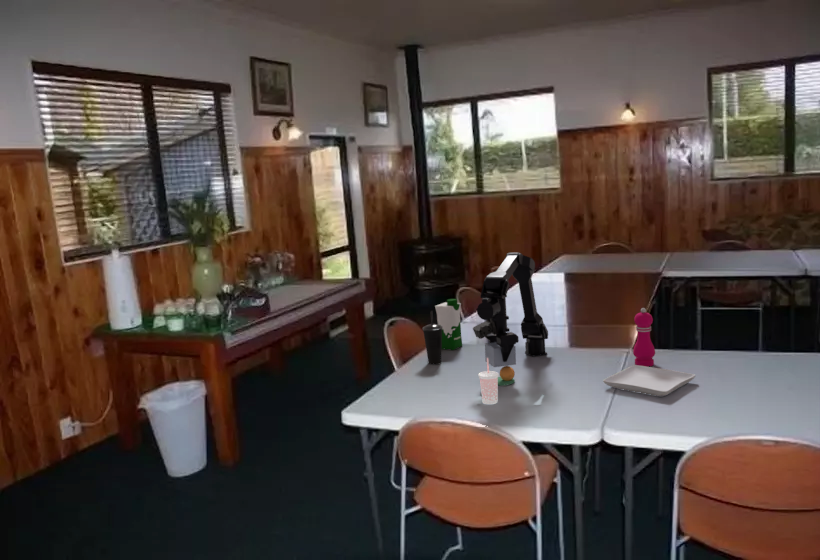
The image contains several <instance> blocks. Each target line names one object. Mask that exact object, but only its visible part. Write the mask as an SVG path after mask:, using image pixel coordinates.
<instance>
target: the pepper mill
mask: <svg viewBox="0 0 820 560" xmlns="http://www.w3.org/2000/svg"><path fill="white" fill-rule="evenodd" d="M633 319H634V321H633V322H634V324H635V325H636V326H635V331H636V333H637V339H636V342H635V344H634V346H633V348H632V349H633V350H632V354H633V355H634V357H635V359H634V365H639V366H646V367H649V366H650V367H652V366H654V364H655V359H654V357H655V355H656V349H655V346H654V344H653V342H652V339H651V331H652V326H651V325H652V324H653V321H654V318H653V316H652V314H650V313H649V312H647V309H646V308H645V307H641V309H640V311H639V312H638V313H636V314H635V316H634V318H633Z"/></svg>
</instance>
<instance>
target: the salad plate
mask: <svg viewBox="0 0 820 560" xmlns="http://www.w3.org/2000/svg"><path fill="white" fill-rule="evenodd" d="M695 377H696V374H695V373H689V372H683V371H678V370H673V369H665V368H659V367H652V366H650V367H646V366H639V365H635V364H633V365H630V366H629V367H626V368H625V369H623V370H620V371H618V372H617V373H614V374H612V375H610V376H608V377H606V378H604V379H603V380H602V381H603V383H604V384H605V385H606V386H608V387H611V388H614V389H618V390H621V389H624V390H623V391H626V390H629V391H628V392H631V391H635V392H634V393H636V392H641V393H640V394H642V393H646V394H645V395H647V394H651V395H650V396H653V395H656V396H655V397H665V396H667V395H668V394H671V393H673V392H674V391H675V390H677V389H679V388H681V387H683V386H685V385H687V384H688V383H689V382H692V381H693V380H694V379H695Z"/></svg>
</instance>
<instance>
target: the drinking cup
mask: <svg viewBox="0 0 820 560" xmlns="http://www.w3.org/2000/svg"><path fill="white" fill-rule="evenodd" d="M430 321H431V323H430V324H427V325H425V326H423V327H422V331H423V337H424V344H425V349H426V356H427V360H428V364H429V365H439V363H440V364H442V352H443V351H442V350H443V349H442V329H443V327H442V326H440V325H438V323H437V324H436V323H434V316H433V310H430Z"/></svg>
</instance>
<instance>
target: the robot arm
mask: <svg viewBox="0 0 820 560" xmlns="http://www.w3.org/2000/svg"><path fill="white" fill-rule="evenodd" d="M535 268H536V262H535V260H534V259H533V258H532V257H531V256H527V255H524V254H523V253H521V252H508V253H506V256H505V258H504V260H503V261H502V263H501V264H500V266H498V268H497V269H496V270H495V271H493V272H490V273H489V274H488V275H486V277H485V278H484V281H483V283H482V286H481V287H482V288H481V294H480V298H481V301H482V302H481V303H479V304H478V306H477V308H476V314H477V316H478V317H479V318H480V319H481V320H484V322H481V323H479V324H477V325H475V326H473V327H472V331H473V333H474V335H475V337H476V338H478V339H479V340H482V339H484V338H485V339H486V340H487V341H488V343H493V342H498V343H496V344H497V345H499V346H500V348H501V353H502V358H503V362H507V360H508V357H509V355H510V353H511V350H512V348H513V346H514V345H516V344H517V343H519V336H518V335H517V334H516V333H514V332H512V331H510V328H509V327H508V321H509V320H510V317H509V315H507V300H506V298H508V296H507V295H508V290H509V288H510V282H509V280H510V278H511V277H513V278H514V279H515V280H516V281H517V283H518V287H519V291H520V298H521V304H522V310H523V316H524V317H523V319H522V320H521V324H520V330H521V336H522V339H526V341H525V343H524V344H525V345H524V346H525V351H524V353H525V354H527V355H528V356H530V357H537V356H544V355H548V352H547V351H546V340H548V339H549V330H548V328H547V327H546V325H545V322H544V320H543V317H542V316H541V315H540V314H539V313H538V309H537V303H536V298H535V291H534V287H533V286H534V285H533V280H532V277H533V275H534V273H535Z"/></svg>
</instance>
